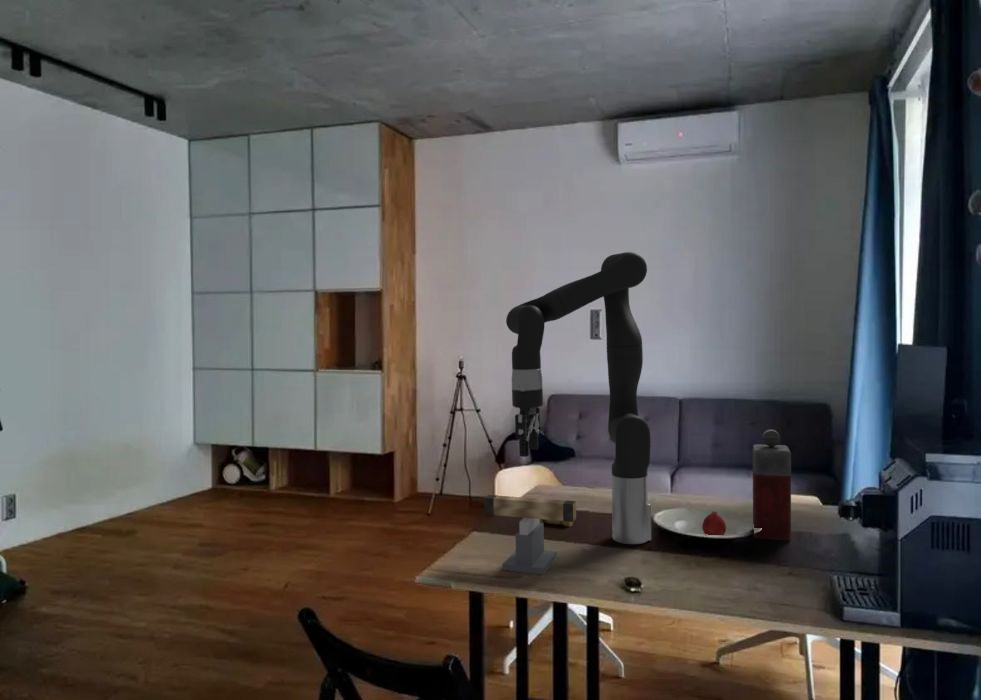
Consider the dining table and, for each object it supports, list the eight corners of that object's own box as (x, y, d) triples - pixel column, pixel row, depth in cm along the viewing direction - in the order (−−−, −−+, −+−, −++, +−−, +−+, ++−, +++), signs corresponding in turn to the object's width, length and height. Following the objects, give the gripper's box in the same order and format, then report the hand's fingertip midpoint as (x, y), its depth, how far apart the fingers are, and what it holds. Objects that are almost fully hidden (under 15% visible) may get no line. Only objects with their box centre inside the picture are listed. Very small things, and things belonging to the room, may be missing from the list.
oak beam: (484, 514, 167) (484, 497, 166) (488, 511, 169) (488, 494, 169) (573, 521, 159) (573, 504, 159) (576, 518, 162) (576, 501, 162)
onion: (701, 543, 177) (701, 512, 177) (703, 536, 182) (703, 506, 182) (725, 545, 175) (725, 514, 175) (726, 538, 180) (726, 508, 180)
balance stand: (557, 557, 169) (556, 511, 168) (543, 574, 157) (543, 525, 157) (518, 553, 172) (517, 508, 171) (502, 570, 161) (501, 521, 160)
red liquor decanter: (787, 528, 188) (787, 426, 187) (791, 540, 177) (791, 433, 176) (752, 525, 191) (752, 425, 190) (754, 537, 180) (753, 432, 179)
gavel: (558, 496, 216) (589, 498, 212) (557, 510, 215) (588, 513, 212) (535, 508, 196) (569, 512, 192) (535, 525, 196) (569, 528, 192)
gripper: (520, 384, 176) (522, 447, 177) (503, 390, 162) (505, 458, 163) (549, 384, 173) (551, 447, 174) (534, 390, 160) (536, 459, 161)
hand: (529, 452), depth 169 cm, fingers open, 8 cm apart
